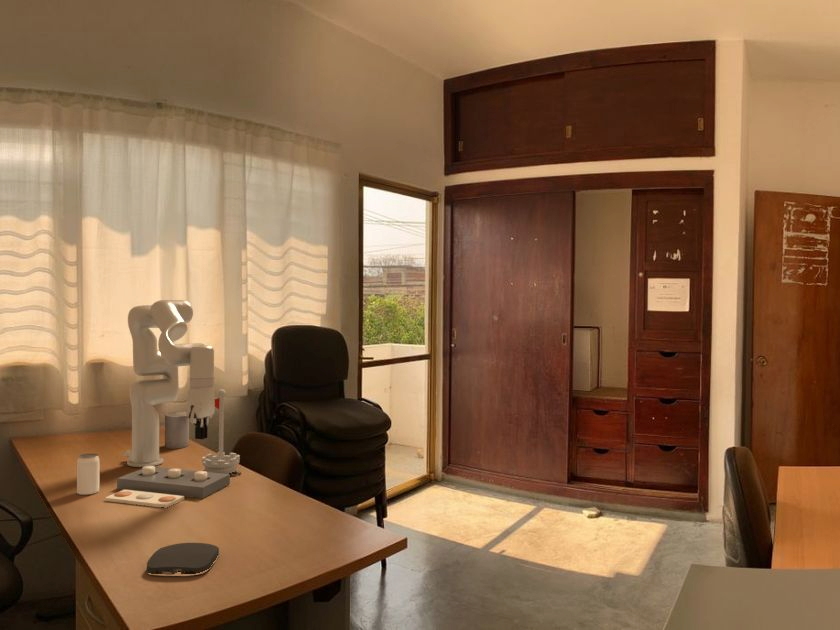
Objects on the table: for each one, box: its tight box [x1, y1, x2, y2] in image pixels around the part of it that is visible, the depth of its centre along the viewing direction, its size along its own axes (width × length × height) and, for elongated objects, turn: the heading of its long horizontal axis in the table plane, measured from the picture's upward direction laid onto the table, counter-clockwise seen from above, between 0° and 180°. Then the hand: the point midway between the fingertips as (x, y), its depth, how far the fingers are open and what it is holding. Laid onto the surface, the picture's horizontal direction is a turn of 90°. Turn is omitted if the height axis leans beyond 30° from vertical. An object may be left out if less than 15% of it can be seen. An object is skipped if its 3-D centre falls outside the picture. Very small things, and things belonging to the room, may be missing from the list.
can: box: [76, 452, 100, 496], centre depth 211 cm, size 6×6×12 cm
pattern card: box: [104, 489, 185, 509], centre depth 205 cm, size 22×9×1 cm, turn 75°
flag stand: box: [201, 388, 241, 474], centre depth 239 cm, size 13×13×30 cm
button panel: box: [116, 466, 231, 499], centre depth 219 cm, size 32×16×4 cm, turn 75°
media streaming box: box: [146, 542, 220, 574], centre depth 158 cm, size 15×15×3 cm
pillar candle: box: [164, 411, 190, 449], centre depth 276 cm, size 10×10×15 cm
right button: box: [194, 470, 207, 482], centre depth 216 cm, size 4×4×3 cm
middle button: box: [168, 468, 182, 479], centre depth 219 cm, size 4×4×3 cm
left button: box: [141, 466, 156, 476], centre depth 221 cm, size 4×4×3 cm
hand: (201, 438), depth 216 cm, fingers closed
